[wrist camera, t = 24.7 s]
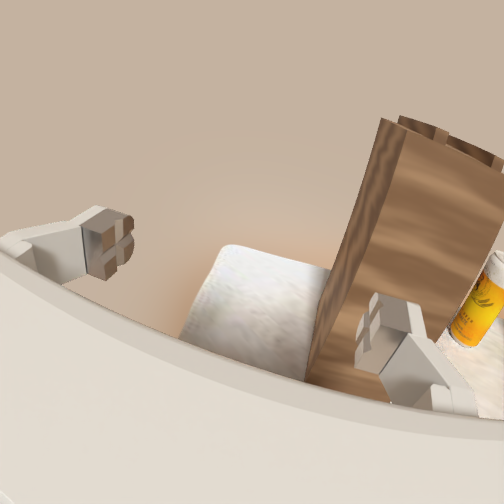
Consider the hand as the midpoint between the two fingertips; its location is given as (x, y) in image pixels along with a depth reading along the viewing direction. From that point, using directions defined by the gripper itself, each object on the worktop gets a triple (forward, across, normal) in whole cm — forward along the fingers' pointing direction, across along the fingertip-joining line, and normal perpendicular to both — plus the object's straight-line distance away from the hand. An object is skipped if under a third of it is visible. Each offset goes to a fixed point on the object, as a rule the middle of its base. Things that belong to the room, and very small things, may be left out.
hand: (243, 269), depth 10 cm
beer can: (+30, +32, -22) cm, 49 cm away
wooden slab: (+21, +11, -22) cm, 32 cm away
